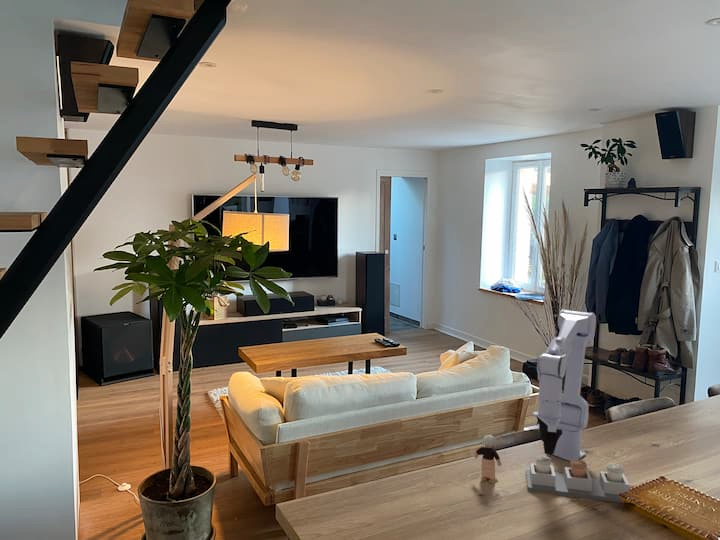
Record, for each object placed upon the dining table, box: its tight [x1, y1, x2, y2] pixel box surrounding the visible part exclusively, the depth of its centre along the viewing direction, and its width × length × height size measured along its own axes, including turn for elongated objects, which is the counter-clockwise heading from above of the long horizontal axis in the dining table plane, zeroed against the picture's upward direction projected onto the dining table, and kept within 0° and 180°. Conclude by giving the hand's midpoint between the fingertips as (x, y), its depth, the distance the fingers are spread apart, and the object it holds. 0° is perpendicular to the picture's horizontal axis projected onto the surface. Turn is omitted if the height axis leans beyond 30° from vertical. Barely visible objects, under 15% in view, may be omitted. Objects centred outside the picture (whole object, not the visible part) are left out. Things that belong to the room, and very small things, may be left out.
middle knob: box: [570, 459, 588, 478], centre depth 145 cm, size 4×4×4 cm
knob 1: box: [534, 455, 552, 474], centre depth 147 cm, size 4×4×4 cm
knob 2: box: [606, 463, 624, 483], centre depth 142 cm, size 4×4×4 cm
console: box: [525, 462, 631, 504], centre depth 145 cm, size 26×10×4 cm, turn 76°
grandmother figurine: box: [473, 434, 502, 484], centre depth 149 cm, size 8×4×13 cm, turn 65°
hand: (547, 447), depth 146 cm, fingers open, 7 cm apart
